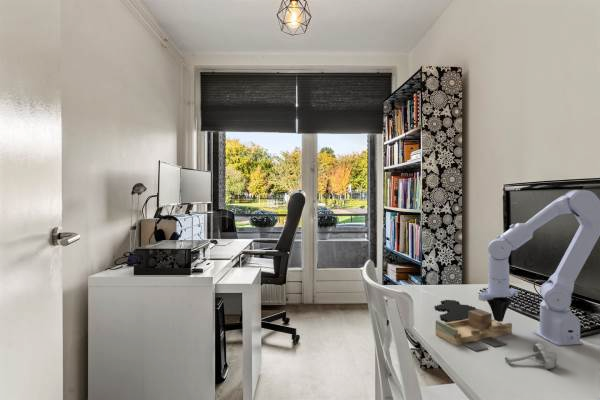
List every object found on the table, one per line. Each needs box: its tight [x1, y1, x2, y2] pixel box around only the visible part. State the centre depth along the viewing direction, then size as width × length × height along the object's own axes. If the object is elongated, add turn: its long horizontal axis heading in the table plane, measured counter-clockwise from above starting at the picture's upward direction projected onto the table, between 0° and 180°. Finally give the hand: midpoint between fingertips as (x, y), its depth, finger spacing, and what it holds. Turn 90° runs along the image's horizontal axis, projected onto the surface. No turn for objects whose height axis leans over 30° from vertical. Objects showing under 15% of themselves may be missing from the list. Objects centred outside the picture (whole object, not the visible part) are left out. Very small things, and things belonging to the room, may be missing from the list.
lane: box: [435, 319, 513, 353], centre depth 104 cm, size 22×13×4 cm, turn 110°
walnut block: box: [468, 308, 493, 331], centre depth 107 cm, size 4×4×4 cm
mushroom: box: [504, 343, 558, 370], centre depth 88 cm, size 7×5×12 cm
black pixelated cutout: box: [434, 299, 478, 323], centre depth 122 cm, size 16×1×30 cm
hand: (498, 320), depth 110 cm, fingers closed
